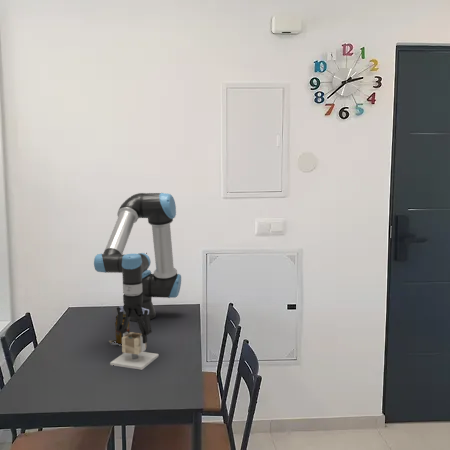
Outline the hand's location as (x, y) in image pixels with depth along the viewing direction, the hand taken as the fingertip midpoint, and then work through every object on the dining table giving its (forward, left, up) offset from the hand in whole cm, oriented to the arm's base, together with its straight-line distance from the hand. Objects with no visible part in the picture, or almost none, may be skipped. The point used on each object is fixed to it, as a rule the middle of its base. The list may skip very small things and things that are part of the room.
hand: (134, 349), depth 209 cm
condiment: (-16, -16, -5) cm, 23 cm away
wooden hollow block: (0, 0, 0) cm, 0 cm away
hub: (0, 0, -5) cm, 5 cm away
